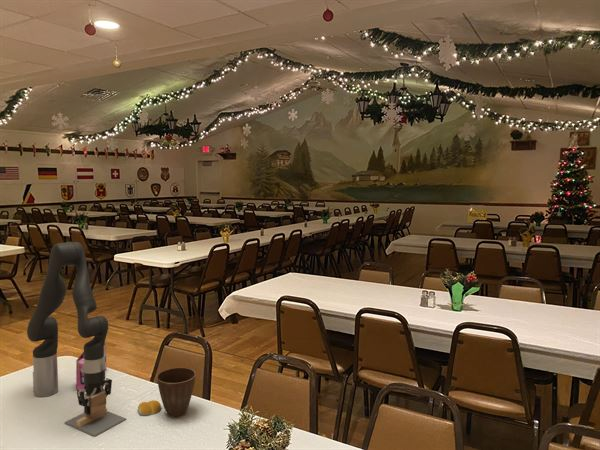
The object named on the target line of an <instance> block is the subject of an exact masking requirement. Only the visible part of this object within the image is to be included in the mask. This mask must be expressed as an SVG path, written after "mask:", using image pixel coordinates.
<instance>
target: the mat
mask: <svg viewBox="0 0 600 450" xmlns="http://www.w3.org/2000/svg"><path fill="white" fill-rule="evenodd" d="M126 420H127V418H126V417H123V416H121V415H118V414H116V413H113V412H110V411H109V410H108V408H107V407H106V413H105V414H103V415H101V416H99V417H97V418H95V419H93V420H91V419H89V418H86V417H85V413H84V412H83V413H81V414H79V415H76V416H74V417H72V418H69V419H67V420H66V421H64V422H63V423H64V425H67V426H69V427H71V428H73V429H76V430H78V431H80V432H83V433H85V434H87V435H90V436H91V437H94V438H96V437H98V436H99V435H101V434H103V433H105V432H107V431H109V430H111V429H112V428H114V427H116V426H118V425H120V424H122V423H123V422H124V423H125V422H126Z"/></svg>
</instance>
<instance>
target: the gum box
mask: <svg viewBox="0 0 600 450" xmlns="http://www.w3.org/2000/svg"><path fill="white" fill-rule="evenodd" d="M104 359H105V372H106V371H107V368H108V367H107V343H106V342H105V343H104ZM75 363H76V364H75V365H76V366H75V367H76V369H75V370H76V371H75V372H76V376H75V378H76V379H75V380H76V381H75V382H76V384H75V385H76V386H75V387H76V388H75V389H76V391H78V390H79V391H81V390H82V389H84V386H85V383H84V367H83V364H84V351H83V352H82V353H81V354H80V356H78V358H77V359H76V361H75Z"/></svg>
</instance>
